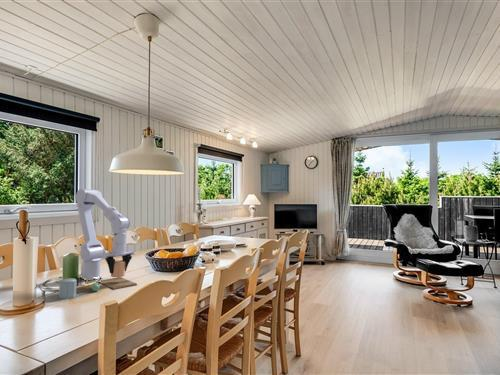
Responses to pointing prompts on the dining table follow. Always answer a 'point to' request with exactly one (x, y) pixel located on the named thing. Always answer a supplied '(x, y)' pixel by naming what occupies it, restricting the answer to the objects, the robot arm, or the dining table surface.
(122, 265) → the terracotta cup
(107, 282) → the walnut board
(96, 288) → the green ball
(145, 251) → the dining table surface
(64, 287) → the slate blue cup
